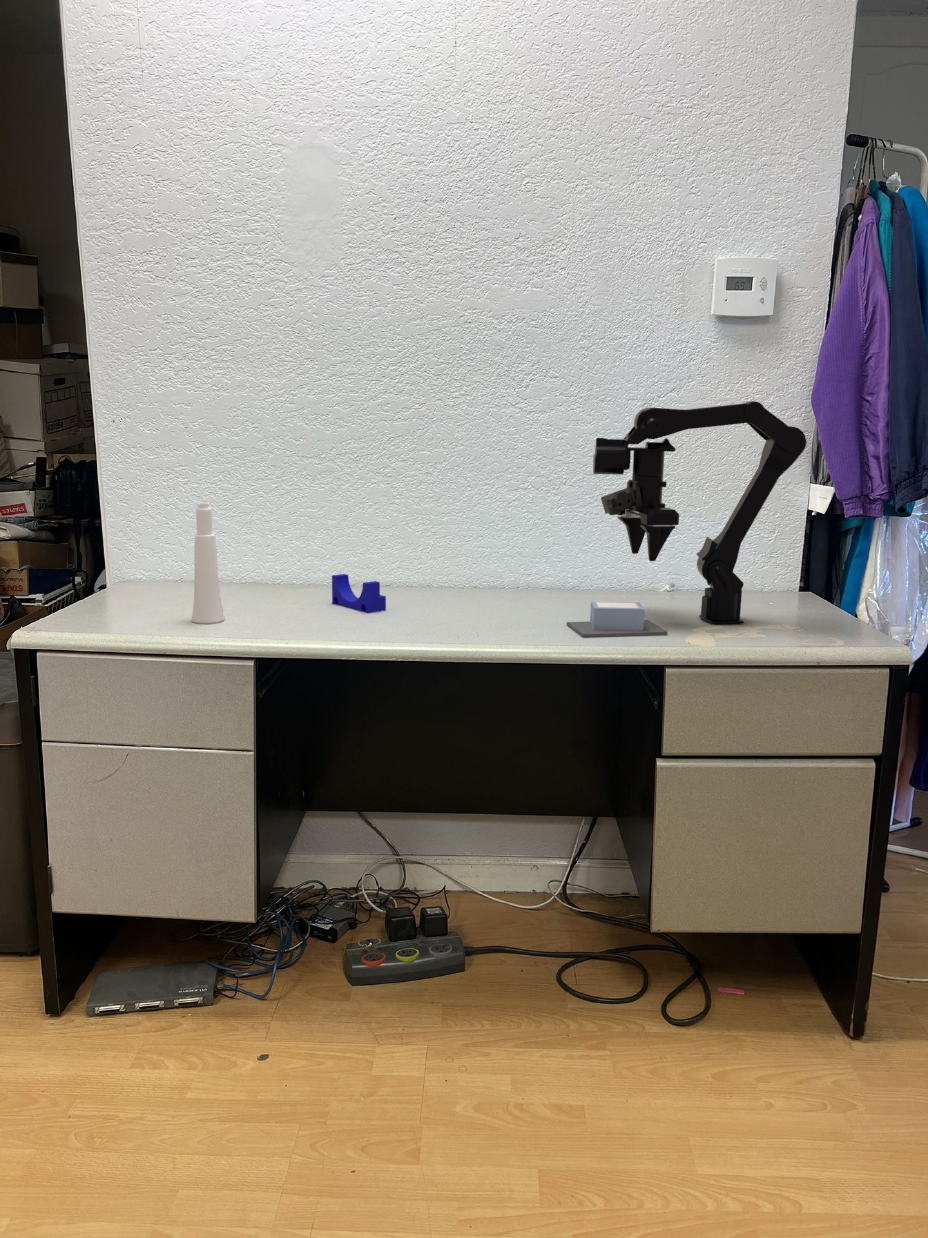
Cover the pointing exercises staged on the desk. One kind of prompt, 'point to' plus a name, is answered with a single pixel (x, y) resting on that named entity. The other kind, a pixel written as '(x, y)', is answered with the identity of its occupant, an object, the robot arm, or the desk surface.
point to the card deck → (617, 616)
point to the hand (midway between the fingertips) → (643, 557)
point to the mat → (587, 631)
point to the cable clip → (346, 598)
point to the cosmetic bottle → (206, 571)
